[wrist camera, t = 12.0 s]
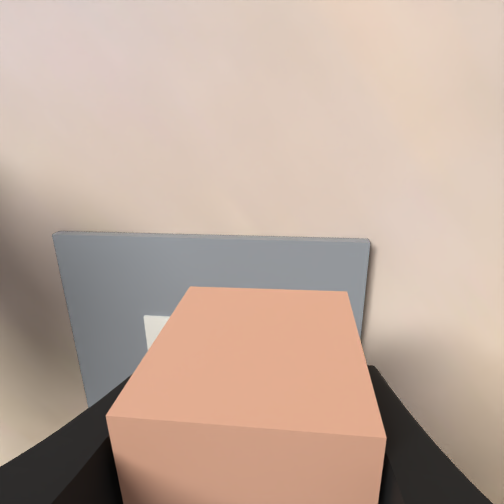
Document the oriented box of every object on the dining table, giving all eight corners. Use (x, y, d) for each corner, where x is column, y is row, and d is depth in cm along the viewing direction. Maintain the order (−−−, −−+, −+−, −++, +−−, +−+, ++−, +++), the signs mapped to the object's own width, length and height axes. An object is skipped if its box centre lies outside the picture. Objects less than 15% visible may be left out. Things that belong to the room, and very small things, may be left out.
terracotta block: (200, 408, 12) (140, 585, 8) (189, 286, 11) (105, 415, 6) (337, 418, 12) (363, 617, 7) (347, 291, 10) (386, 438, 6)
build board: (104, 455, 25) (98, 465, 24) (59, 231, 20) (49, 235, 19) (343, 480, 23) (345, 492, 22) (368, 238, 18) (371, 243, 17)
